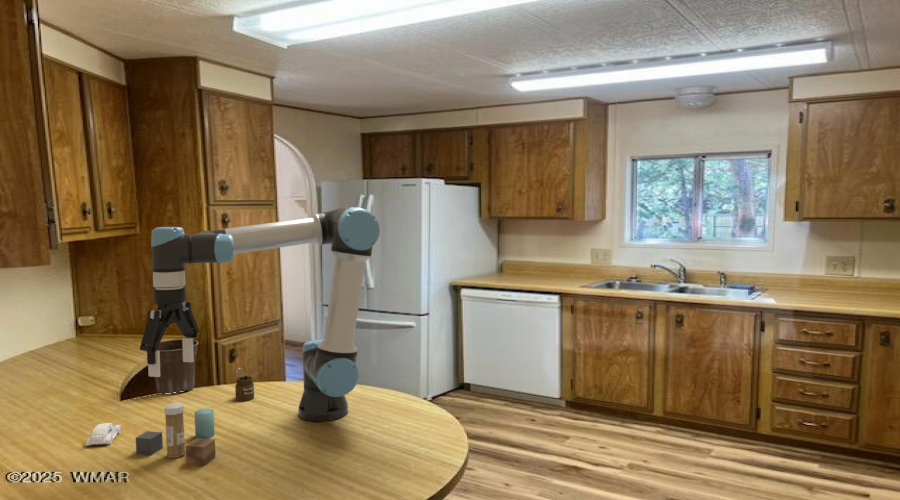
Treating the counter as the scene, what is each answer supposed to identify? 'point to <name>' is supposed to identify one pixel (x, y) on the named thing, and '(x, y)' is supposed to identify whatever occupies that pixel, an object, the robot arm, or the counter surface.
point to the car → (103, 434)
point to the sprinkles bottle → (174, 430)
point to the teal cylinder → (204, 423)
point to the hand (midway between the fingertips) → (172, 368)
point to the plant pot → (175, 368)
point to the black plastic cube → (149, 443)
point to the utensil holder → (245, 386)
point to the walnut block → (200, 452)
